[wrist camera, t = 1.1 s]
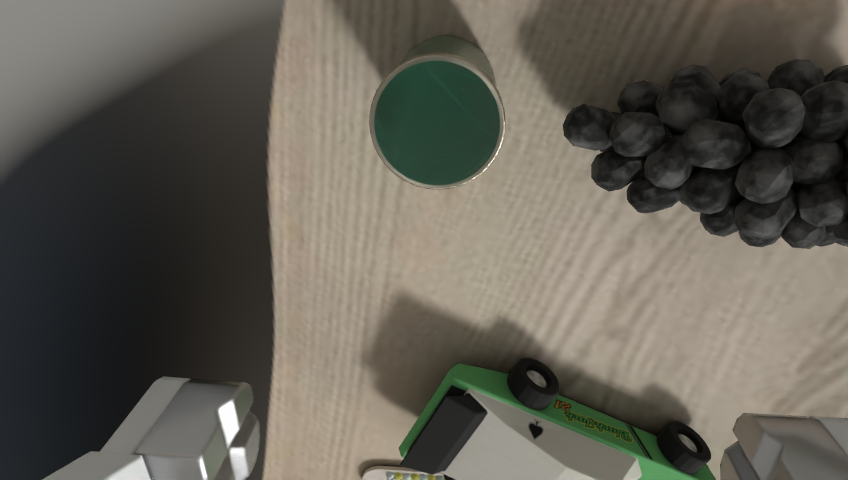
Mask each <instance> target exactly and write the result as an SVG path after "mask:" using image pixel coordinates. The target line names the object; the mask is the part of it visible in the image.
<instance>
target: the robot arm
mask: <svg viewBox="0 0 848 480" xmlns="http://www.w3.org/2000/svg"><path fill="white" fill-rule="evenodd" d="M253 402H254V397H253V393H252V388H251V385H248V384H246V383H239V382H227V381H215V380H204V379H192V378H191V379H185V378H174V377H162V378H160V379H158V380H157V381H155V382H154V383H153V384H152V386H151V387H150V388H149V389H148V391H147V392H146V393H145V395H144V396H143V397H142V398H141V400H140V401H139V402H138V404H137V405H136V406H135V407H134V409H133V410H132V411H131V413H130V414H129V415H128V416H127V418H126V419H125V420H124V421H123V423H122V424H121V425H120V427H119V428H118V429H117V430H116V432H115V433H114V434H113V435H112V437H111V438H110V439H109V441H108V442H107V443H106V444H105V446H104V447H103V448H102V449H101V451H100V452H89V453H87V454H86V455H84V456H82V457H80V458H79V459H77V460H75V461H73V462H72V463H70V464H68V465H67V466H65V467H63V468H61V469H60V470H58V471H56V472H55V473H53V474H51V475H49V476H48V477H46V478H44V479H43V480H244V479H245V478H247V477H248V476H249V475H250V474H251V471H252V469H253V466H254V464H255V461H256V459H257V454H258V448H259V444H260V427H259V421H258V418H257V417H255V416H254V415H253V414H252V413H251V412H250V411H249V410H250V407H251V406H252V404H253ZM733 432H734V434H735V436H736V437H737V439H738V441H737V442H736V443H734V444H733V445H731V446H730V447H728V448H727V449H725V451H724V454H723V457H722V460H721V464H720V474H721V480H848V419H846V418H835V417H814V416H811V417H806V416H792V415H772V414H753V413H743V414H742V415H741V416H740V417H739V418H737V420H736V423H735V425H734V428H733Z"/></svg>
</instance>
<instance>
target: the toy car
mask: <svg viewBox="0 0 848 480" xmlns="http://www.w3.org/2000/svg"><path fill="white" fill-rule="evenodd" d="M559 391H560V385H559V382H558V380H557V378H556V376H555V375H554V373H553V372H552V371H551V370H550V369H549V368H548V367H547V366H545V365H544V364H543V363H541V362H539V361H537V360H534V359H531V358H523V359H520V361H519V362H518V363H517V365H516V366H515V367H514V369H513V370H512V371H511V373H510V374H507V373H502V372H498V371H493V370H488V369H483V368H479V367H474V366H469V365H465V364H460V363H458V364H456V365H455V366H454V367H452V368H451V369H450V371H449V372H448V374H447V375H446V377H445V378H444V380H443V381H442V383H441V384H440V386H439V387H438V389H437V390H436V392H435V393H434V395H433V397H432V398H431V400H430V401H429V403H428V404H427V406H426V407H425V409H424V410H423V412H422V413H421V415H420V416H419V418H418V419H417V421H416V422H415V424H414V425H413V427H412V429H411V430H410V432H409V433H408V435H407V436H406V438H405V439H404V441H403V442H402V444H401V445H400V447H399V450H400V454H401V456H402V457H404V459H403V461H402V462H401V464H400V466H403V467H407V468H410V469H414V470H417V471H421V472H424V473H428V474H431V475H434V474H436V473H439V472H441V473H443V475H444V478H445V480H716V479H715V477H714V476H713V474H712V473H711V471H710V469H709V468H708V466H707V465H706V463H707V462H709V460H710V459H711V453H710V450H709V448H708V446H707V444H706V443H705V442H704V440H703V439H702V438H701V437H700V436H699V435H698V434H697V433H696V432H695V431H694V430H693V429H691V428H690V427H688V426H687V425H685V424H683V423H680V422H676V421H675V422H671V423H670V424H669V425H668V426H667V427H666V428H665V429H664V430H663V431H662V432H661V433H660V434H659V435H658V436H655V435H652V434H650V433H648V432H645V431H643V430H641V429H638V428H636V427H633V426H631V425H629V424H626V423H624V422H622V421H619V420H617V419H615V418H612V417H610V416H608V415H605V414H603V413H600V412H598V411H596V410H593V409H591V408H589V407H586V406H584V405H582V404H579V403H577V402H575V401H572V400H570V399H568V398H565V397H563V396H560V395H558V392H559Z"/></svg>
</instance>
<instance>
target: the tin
mask: <svg viewBox="0 0 848 480" xmlns="http://www.w3.org/2000/svg"><path fill="white" fill-rule="evenodd" d="M369 125H370V133H371V137H372V141H373V144H374V147H375V149H376V151H377V153H378V155H379V157H380V158H381V160H382V161H383V162H384V164H385V165H386V166H387V167H388V168H389V169H390V170H391V171H392V172H393V173H394V174H395V175H397V176H398V177H400V178H401V179H403V180H404V181H406V182H408V183H410V184H413V185H416V186H419V187H423V188H427V189H448V188H454V187H457V186H461V185H463V184H465V183H468V182H470V181H471V180H473V179H475V178H476V177H478V176H479V175H480V174H482V173H483V172H484V171H485V170H486V169H487V168H488V167H489V166H490V164H491V163H492V162H493V161H494V159H495V157H496V156H497V154H498V152H499V150H500V147H501V145H502V142H503V138H504V133H505V112H504V107H503V103H502V99H501V97H500V94H499V92H498V90H497V87H496V82H495V77H494V73H493V69H492V67H491V64H490V62H489V61H488V59H487V57H486V56H485V55H484V53H483V52H482V51H481V50H480V49H479V48H478V47H477V46H475V45H474V44H473V43H471V42H469V41H467V40H465V39H463V38H460V37H456V36H448V35H444V36H436V37H432V38H429V39H426V40H424V41H422V42H421V43H419V44H418V45H416V46H415V47H414V48H413V49H412V50H411V51H410V52H409V53H408V54H407V55H406V56H405V58H404V59H403V60H402V62H401V63H400V64H399V65H398V66H397V67H396V68H394V69H393V70H392V71H391V72H390V73H389V74H388V75H387V77H386V78H385V79H384V80H383V82H382V83H381V85H380V86H379V88H378V89H377V91H376V94H375V96H374V98H373V101H372V105H371V110H370V120H369Z"/></svg>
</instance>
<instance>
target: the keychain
mask: <svg viewBox="0 0 848 480" xmlns="http://www.w3.org/2000/svg"><path fill="white" fill-rule="evenodd" d="M362 480H445V478H444V475H443V473H441V472H439V473H436V474H434V475H431V474H428V473H424V472H421V471H417V470H414V469H410V468H405V467H391V466H374V467H370V468H369V469H367V470H366V471H365V472H364V474H363V478H362Z"/></svg>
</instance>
